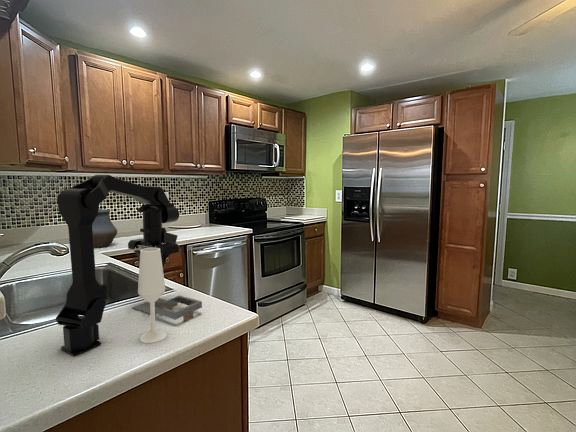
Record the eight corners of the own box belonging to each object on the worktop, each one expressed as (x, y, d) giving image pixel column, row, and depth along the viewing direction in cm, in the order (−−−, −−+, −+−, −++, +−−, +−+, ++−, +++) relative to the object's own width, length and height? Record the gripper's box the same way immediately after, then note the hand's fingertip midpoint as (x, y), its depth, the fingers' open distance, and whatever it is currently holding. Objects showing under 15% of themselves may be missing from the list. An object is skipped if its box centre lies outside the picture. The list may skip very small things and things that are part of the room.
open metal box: (175, 326, 88) (175, 313, 88) (152, 318, 94) (151, 305, 93) (202, 313, 97) (201, 301, 97) (179, 306, 103) (179, 295, 102)
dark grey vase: (88, 251, 183) (85, 210, 180) (74, 246, 196) (72, 208, 193) (123, 246, 199) (121, 208, 196) (108, 242, 212) (106, 206, 209)
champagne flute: (141, 332, 85) (138, 247, 82) (167, 329, 87) (165, 246, 84) (137, 344, 78) (134, 253, 76) (165, 340, 80) (163, 251, 78)
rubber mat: (152, 315, 95) (151, 313, 95) (132, 308, 100) (132, 307, 100) (177, 304, 104) (177, 303, 104) (158, 299, 109) (158, 297, 109)
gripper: (191, 224, 102) (192, 270, 103) (155, 220, 111) (156, 262, 112) (163, 228, 92) (165, 278, 94) (126, 224, 101) (127, 269, 103)
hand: (154, 271), depth 101 cm, fingers closed on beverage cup, 5 cm apart
